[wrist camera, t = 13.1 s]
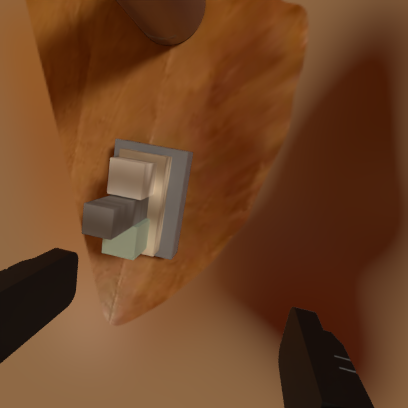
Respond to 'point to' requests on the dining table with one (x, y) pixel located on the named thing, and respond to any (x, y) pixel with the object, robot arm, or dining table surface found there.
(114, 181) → the cream block
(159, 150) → the dock
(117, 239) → the green block
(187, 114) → the dining table surface
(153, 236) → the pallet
